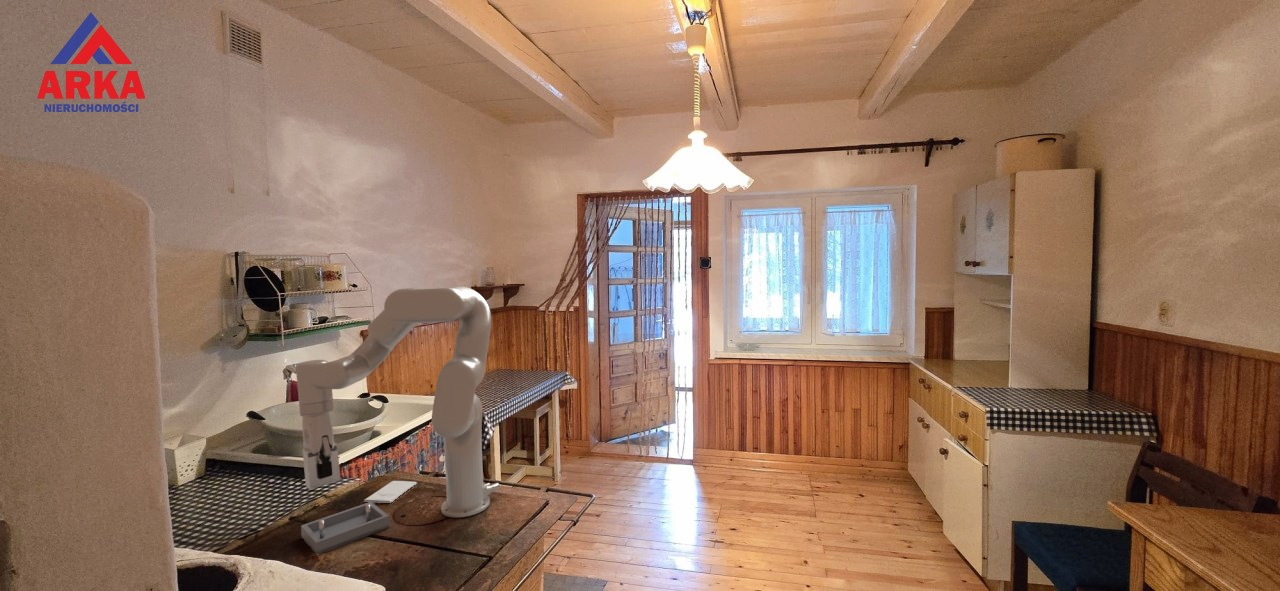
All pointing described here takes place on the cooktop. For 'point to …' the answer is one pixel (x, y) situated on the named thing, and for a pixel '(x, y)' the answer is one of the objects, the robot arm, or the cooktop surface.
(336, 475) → the block
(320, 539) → the tray
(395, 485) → the external hard drive
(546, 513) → the cooktop surface
